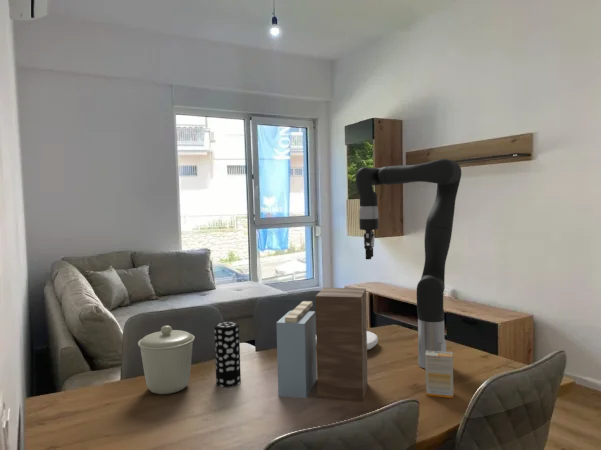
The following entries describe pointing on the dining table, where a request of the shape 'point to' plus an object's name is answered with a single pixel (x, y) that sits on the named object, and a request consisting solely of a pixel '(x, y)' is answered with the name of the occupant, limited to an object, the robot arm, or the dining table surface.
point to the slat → (298, 312)
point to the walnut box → (341, 343)
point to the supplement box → (439, 373)
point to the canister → (167, 360)
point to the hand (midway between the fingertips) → (369, 258)
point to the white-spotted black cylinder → (227, 354)
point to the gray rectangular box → (296, 356)
